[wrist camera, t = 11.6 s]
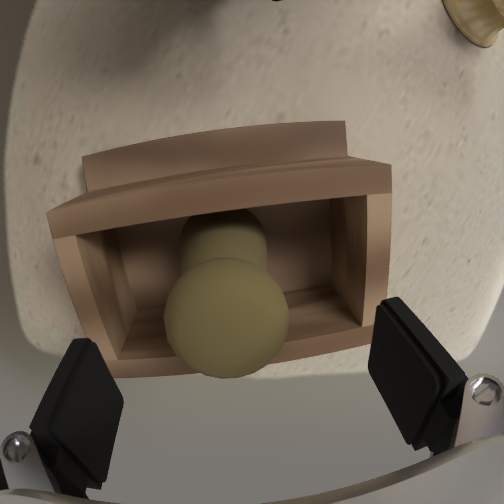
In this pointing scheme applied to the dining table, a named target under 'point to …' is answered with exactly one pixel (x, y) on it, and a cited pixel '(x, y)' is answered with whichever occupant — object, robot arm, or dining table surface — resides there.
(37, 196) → the dining table surface
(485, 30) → the hand bell
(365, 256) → the caddy
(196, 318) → the cork
